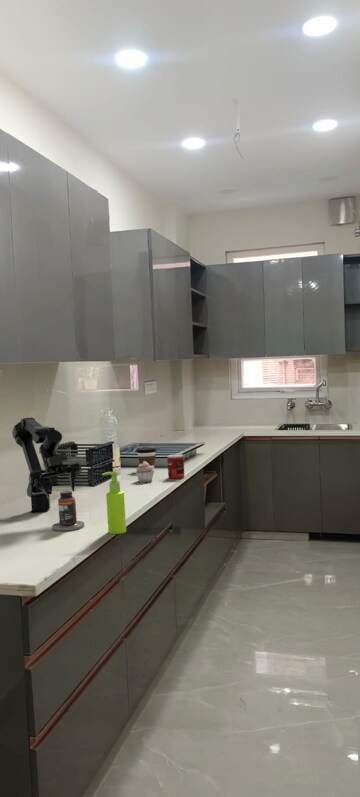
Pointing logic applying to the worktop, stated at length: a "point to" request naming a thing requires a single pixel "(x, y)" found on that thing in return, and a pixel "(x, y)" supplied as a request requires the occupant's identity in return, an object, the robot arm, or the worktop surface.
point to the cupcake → (144, 472)
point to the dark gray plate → (68, 526)
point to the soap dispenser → (115, 506)
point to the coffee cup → (147, 456)
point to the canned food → (175, 466)
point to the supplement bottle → (67, 508)
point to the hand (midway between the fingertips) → (61, 493)
